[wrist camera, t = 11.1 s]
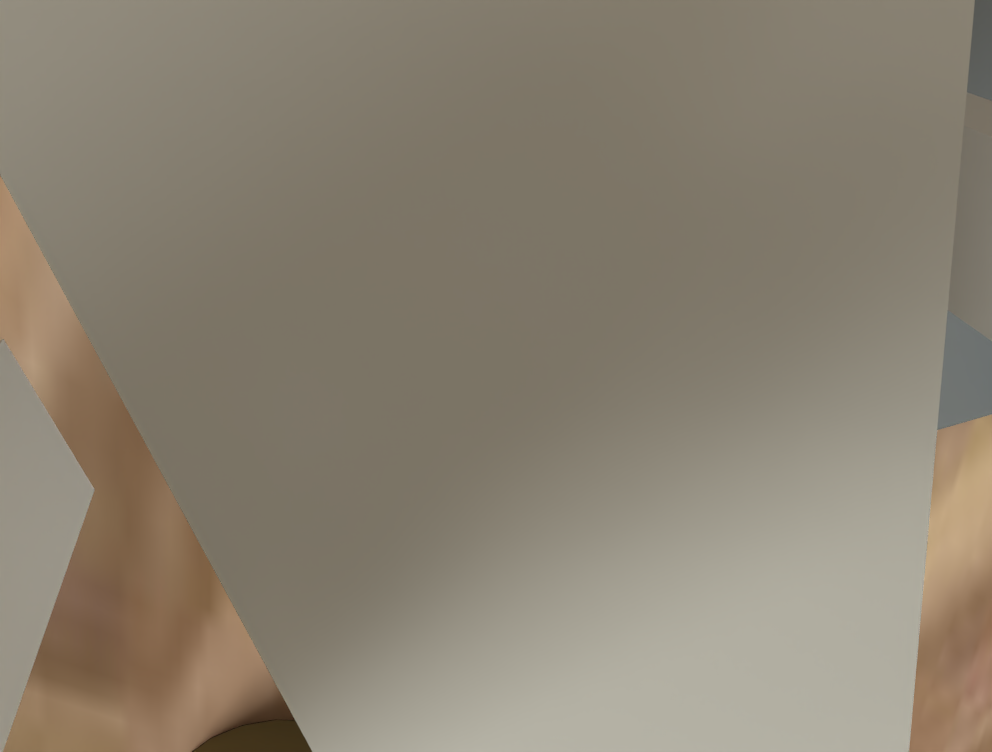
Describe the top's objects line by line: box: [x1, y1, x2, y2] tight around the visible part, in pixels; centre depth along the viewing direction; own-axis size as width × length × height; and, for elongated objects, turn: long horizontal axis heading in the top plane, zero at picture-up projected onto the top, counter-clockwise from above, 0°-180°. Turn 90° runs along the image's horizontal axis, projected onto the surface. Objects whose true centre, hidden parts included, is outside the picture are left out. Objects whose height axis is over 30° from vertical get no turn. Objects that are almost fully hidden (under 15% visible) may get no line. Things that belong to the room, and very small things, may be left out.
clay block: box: [0, 0, 975, 752], centre depth 11 cm, size 4×14×12 cm, turn 12°
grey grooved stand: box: [937, 0, 992, 430], centre depth 17 cm, size 18×19×2 cm
